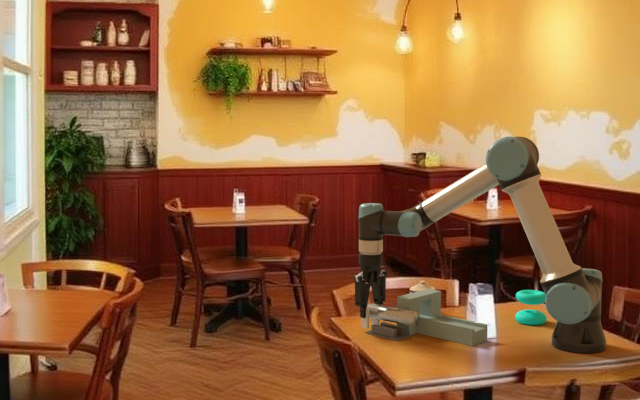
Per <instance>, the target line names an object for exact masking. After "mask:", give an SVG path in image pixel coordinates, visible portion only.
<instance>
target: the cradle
mask: <svg viewBox="0 0 640 400" xmlns="http://www.w3.org/2000/svg"><path fill="white" fill-rule="evenodd" d="M370 327H371V328H370V329H371V330H367V331H366V332H365V333H366V334H368V335H370V336H374V337H379V338H382V339H386V340H390V341H395V342H397V341H401V340H404V339H408V338H411V337H412V335H410V334H406V327H404V326H399V325H397V324H396V323H392V322H388V321H382V322H381V321H380V325H376V324H374V325H373V324H371V326H370Z"/></svg>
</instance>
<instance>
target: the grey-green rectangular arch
mask: <svg viewBox="0 0 640 400" xmlns="http://www.w3.org/2000/svg"><path fill="white" fill-rule="evenodd" d="M441 307H442V290H437V289H436V290H432V289H426V290H422V291H418V292H414V293H410V292H409V293H407V294H403V295H398V296H396V308H397V309H403V310H408V311H414V312H418V313H419V315H420V317H423V318H428V317H431V313H436V314H440V315H442V308H441ZM396 325H399V326H404V327H406V334H410V335H411V336H413V335H417V334H419V333H418V325H417V326H416V327H413V326H408V325H403V324H398V323H396Z"/></svg>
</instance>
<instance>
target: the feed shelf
mask: <svg viewBox="0 0 640 400" xmlns="http://www.w3.org/2000/svg"><path fill="white" fill-rule="evenodd" d="M475 322H476V321H472V320H468V319H465V318H464V319H463V318H458V317H453V316H449V315H445V314H441V315H440V314H436V313H431V317H428V318H423V317H420V322H419V324H418V333H417V334H420V335H422V336H423V335H425V336H428V337H433V338H436V339H441V340H445V341H449V342H454V343H458V344H462V345H467V346H470V347H474V346H476V345H479V344H482V343H484V341H485V342H488V324H487V323H481V322H478V323H475Z"/></svg>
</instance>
